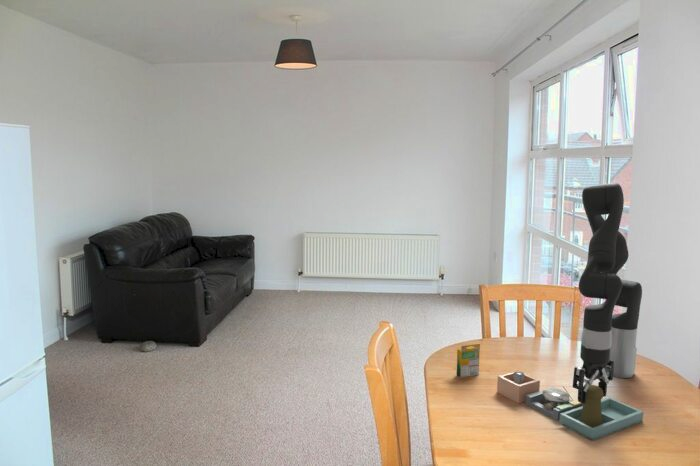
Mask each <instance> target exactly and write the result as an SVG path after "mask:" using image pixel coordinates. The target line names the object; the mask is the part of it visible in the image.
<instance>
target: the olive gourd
mask: <svg viewBox="0 0 700 466" xmlns="http://www.w3.org/2000/svg"><path fill="white" fill-rule="evenodd" d="M603 395H604V393H603V390H602V388H600V387H599V386H598V385H595V384H591V385H589V387H588V389H587V401H586V403H585V404H583V408H582V412H581V417H580V422H582V423H584V424H586V425H588V426H590V427H592V428H594V427H597V426H599V425H602V424H603V423H602V409H601V400H602V399H604V397H603Z"/></svg>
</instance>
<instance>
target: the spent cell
mask: <svg viewBox="0 0 700 466" xmlns="http://www.w3.org/2000/svg"><path fill="white" fill-rule="evenodd" d="M515 371H516V372H515ZM515 371H513V372H514V375H513V382H515V383H517V384H523V383H524V374H525V373H524V372H522V371H520V372H519V370H515Z"/></svg>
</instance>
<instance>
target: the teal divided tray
mask: <svg viewBox="0 0 700 466" xmlns="http://www.w3.org/2000/svg"><path fill="white" fill-rule="evenodd" d="M582 408H583V406H581V407H578V408H575V409H572V410H569V411H566V412H563V413H560V418H559V422H560V423H561V425H562V426H563V427H565V428H567V429H568V430H571V431H573V432H575V433H577V434H579V435H581V436H582V437H585V438H587V439H588V440H591V441H596V440H599V439H601V438H604V437H606V436H607V437H608V436H609V435H611V434H614V433H616V432H617V433H618V432H619V431H622V430H624V429H627V428H630V427H633V426H634V425H637V424H640V423H643V422H644V421H643V420H644V411H643V410H640V409H638V408H636V407H633V406H631V405H629V404H626V403H623V402H622V401H619V400H617V399H614V398H612V397H610V396H607V397H604V398H602V399H601V409H602V423H603V424H602V425H599V426H597V427H594V428H592V427H590V426H588V425H586V424H584V423H582V422H580V417H581V412H582Z"/></svg>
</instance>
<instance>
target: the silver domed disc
mask: <svg viewBox="0 0 700 466" xmlns="http://www.w3.org/2000/svg"><path fill="white" fill-rule="evenodd" d="M542 390H543V394H542V397H543V398H544V399H545V400H547V401H546V402H550V406H551V407H553V408H556V407H557V406H560V404H561V405H563V404H562V403H567V402H569V399H570V397H571V396H570V394H569V393H568V392H566V391H565V390H562V389H559V388H557V389H548V388H546V389H542Z"/></svg>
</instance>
